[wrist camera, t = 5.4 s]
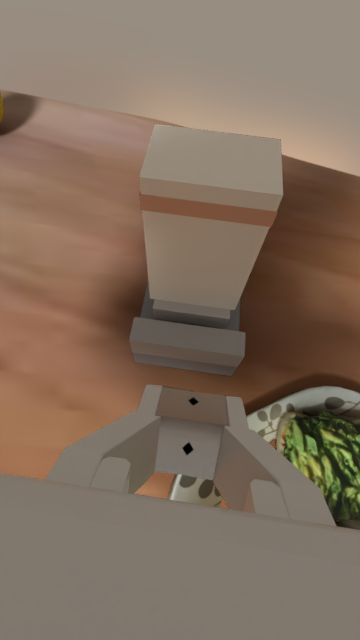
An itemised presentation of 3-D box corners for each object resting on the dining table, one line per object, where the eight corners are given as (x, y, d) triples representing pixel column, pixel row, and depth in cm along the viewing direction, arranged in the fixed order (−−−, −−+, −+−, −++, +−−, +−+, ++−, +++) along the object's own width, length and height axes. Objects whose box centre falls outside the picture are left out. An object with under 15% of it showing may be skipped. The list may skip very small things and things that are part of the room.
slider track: (231, 376, 21) (244, 356, 18) (134, 362, 21) (128, 340, 18) (241, 188, 31) (251, 150, 27) (174, 179, 31) (175, 141, 27)
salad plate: (217, 982, 11) (247, 1284, 7) (98, 474, 18) (79, 473, 14) (568, 692, 15) (721, 774, 11) (353, 369, 22) (394, 345, 18)
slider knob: (230, 329, 20) (285, 208, 11) (148, 317, 20) (134, 188, 11) (234, 270, 23) (281, 130, 13) (160, 260, 23) (156, 115, 14)
